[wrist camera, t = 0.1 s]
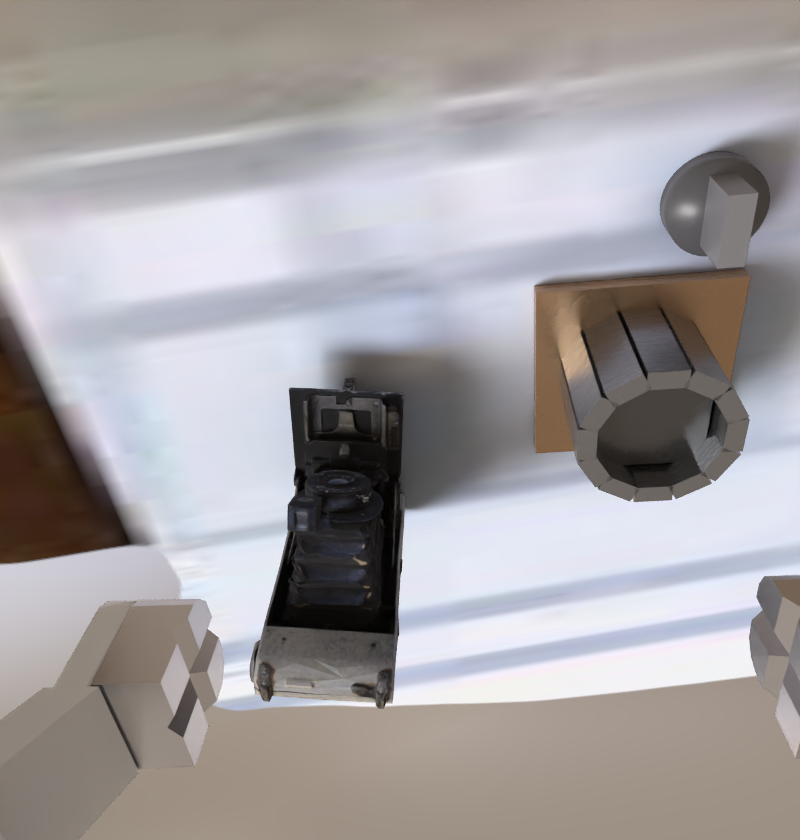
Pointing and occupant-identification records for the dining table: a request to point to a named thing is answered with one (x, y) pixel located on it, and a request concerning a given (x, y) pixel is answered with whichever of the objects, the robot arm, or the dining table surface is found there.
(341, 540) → the vintage camera
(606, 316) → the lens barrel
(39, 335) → the dining table surface
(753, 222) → the rotary knob
